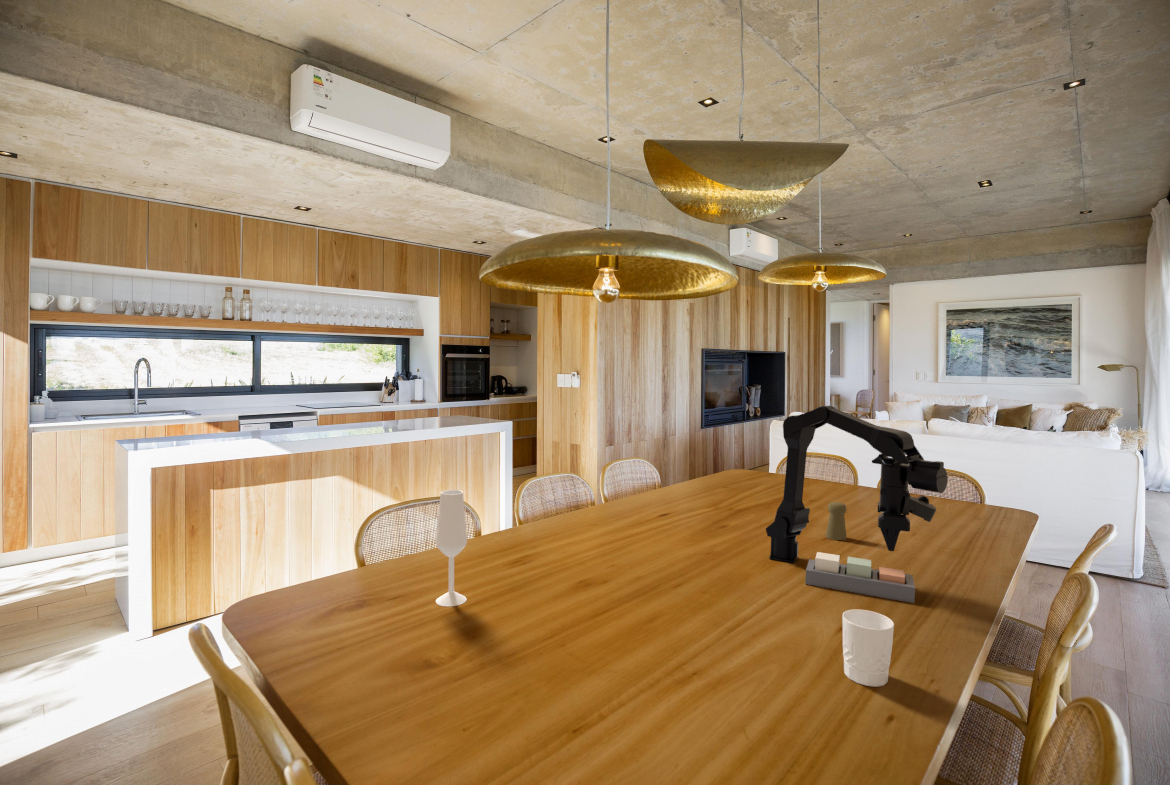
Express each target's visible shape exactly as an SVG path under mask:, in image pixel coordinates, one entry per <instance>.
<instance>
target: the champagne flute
mask: <svg viewBox="0 0 1170 785" xmlns="http://www.w3.org/2000/svg"><path fill="white" fill-rule="evenodd" d="M439 498H440V499H439V507H438V516H437V525H436V537H435V544H436V547H437V548H438V551H440V553H442V554H443V555H444V556H445V557H448V591H447V592H446V593H444V594H442V595H441V596H439V597H437V598H436V599H435V603H436V604H437V605H438V606H441V607H456V606H460V605H462V604H464V603H466V601H467V597H466V595H463V594H461V593H459V592H457V591H455V557H457V556H458V555H459V554H460V553H461V552H462V551H463V549H464V548H465V547H466V546H467V543H468V535H467V524H466V523H467V521H466V512H465V501H464V499H465V498H464V491H463V490H459V489H448V490H446V489H445V490H443V491H442V490H441V491H440V497H439Z"/></svg>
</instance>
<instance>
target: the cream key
mask: <svg viewBox="0 0 1170 785" xmlns="http://www.w3.org/2000/svg"><path fill="white" fill-rule="evenodd" d="M840 558H841V557H840V554H839V555H838V554H834V553H828V552H827V553H826V552H820V551H817V552H816V555H815V558H814V560H815V570H821V571H828V572H834V573H839V564H840Z"/></svg>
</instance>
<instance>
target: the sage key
mask: <svg viewBox="0 0 1170 785" xmlns="http://www.w3.org/2000/svg"><path fill="white" fill-rule="evenodd" d="M846 565H847V573H846V575H852V576H858V577H864V578H871V569H872V560H871V559H869V558H868V559H867V558H861V557H854V556H847V560H846Z"/></svg>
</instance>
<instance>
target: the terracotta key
mask: <svg viewBox="0 0 1170 785" xmlns="http://www.w3.org/2000/svg"><path fill="white" fill-rule="evenodd" d="M878 570H879V580H883V581H889V582H895V583H901V584H905V574H906V573H905V570H902V569H896V568H890V567H883V566H879V567H878Z"/></svg>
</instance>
